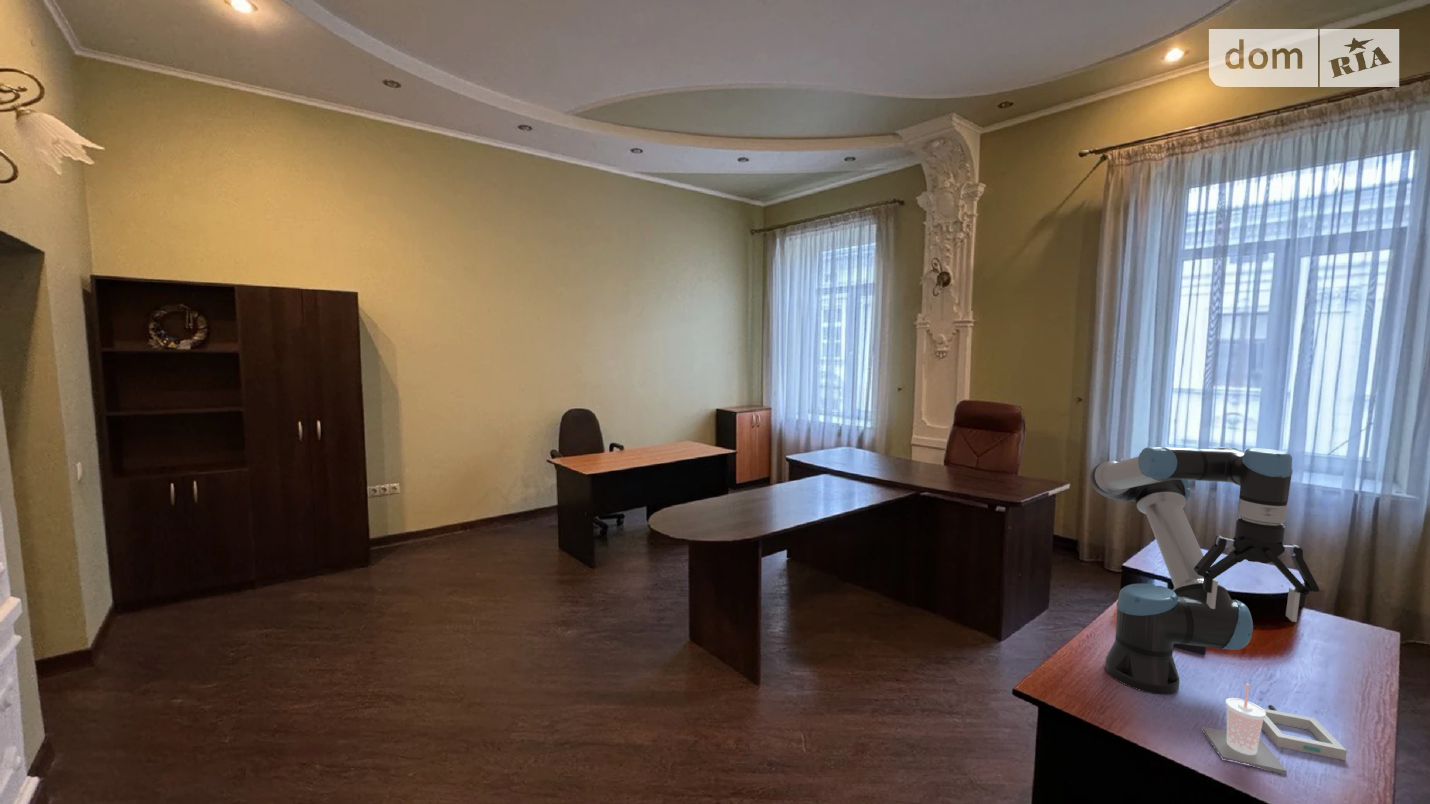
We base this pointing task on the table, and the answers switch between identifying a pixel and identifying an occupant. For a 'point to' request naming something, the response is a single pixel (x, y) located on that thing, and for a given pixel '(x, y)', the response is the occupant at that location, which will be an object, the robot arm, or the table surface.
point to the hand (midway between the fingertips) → (1249, 612)
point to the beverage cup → (1244, 724)
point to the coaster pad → (1260, 759)
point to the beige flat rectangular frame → (1322, 747)
